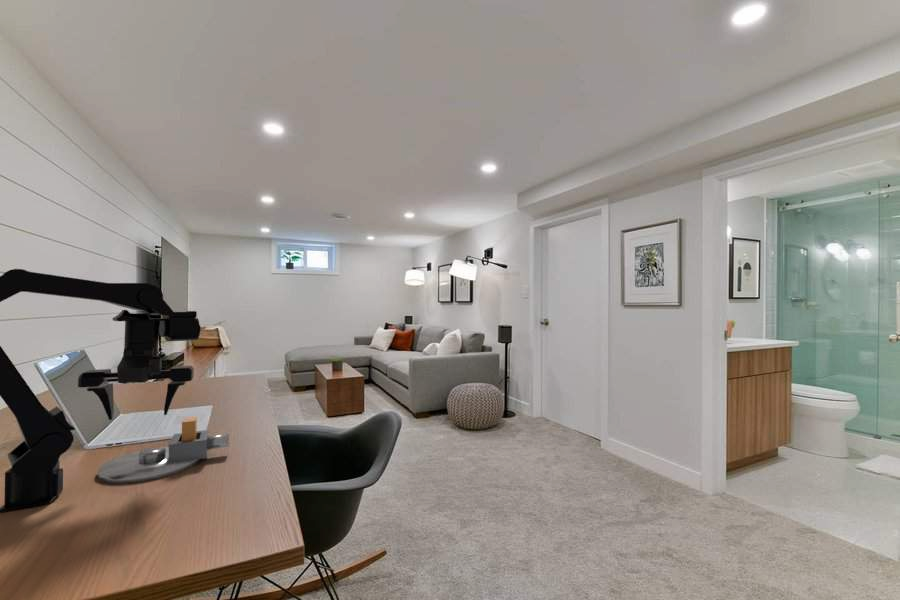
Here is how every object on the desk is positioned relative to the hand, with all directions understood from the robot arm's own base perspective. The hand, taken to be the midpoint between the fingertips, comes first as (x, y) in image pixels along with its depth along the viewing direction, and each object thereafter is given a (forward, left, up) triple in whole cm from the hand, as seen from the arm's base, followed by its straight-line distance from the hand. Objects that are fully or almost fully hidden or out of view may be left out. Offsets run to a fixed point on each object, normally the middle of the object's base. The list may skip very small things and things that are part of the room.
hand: (138, 417), depth 85 cm
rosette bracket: (+5, +4, -12) cm, 13 cm away
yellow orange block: (+9, +4, -11) cm, 14 cm away
